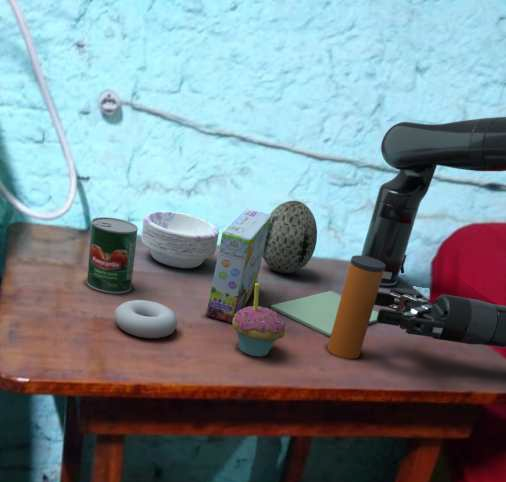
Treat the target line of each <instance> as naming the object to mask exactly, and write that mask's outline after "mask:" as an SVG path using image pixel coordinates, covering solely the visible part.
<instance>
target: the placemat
mask: <svg viewBox="0 0 506 482" xmlns="http://www.w3.org/2000/svg"><path fill="white" fill-rule="evenodd" d="M341 296H342V294H339V293H337V292H334V291H331V290H328V291H325V292H320V293H316V294H312V295H308V296H304V297H300V298H296V299H295V298H294V299H292V300H286V301H283V302H279V303H275V304H270V307H269V309H272V310H274V311H275V312H276V313H280V314H281V315H283V316H286V317H288V318H289V319H291V320H294V321H296V322H298V323H300V324H302V325H305V326H306V327H308V328H311V329H313V330H315V331H316V332H318V333H321V334H322V335H325V336H327V337H329V338H330V337H331V333H332V329H333V326H334V322H335V318H336V314H337V311H338V307H339V303H340V299H341ZM378 313H379V311H377V310H374V309H373V310H372V314H371V317H370V321H369V324H368V326H369V325H371V324H372V325H373V324H376V323H377V322H378V321H377V316H378Z"/></svg>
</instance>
